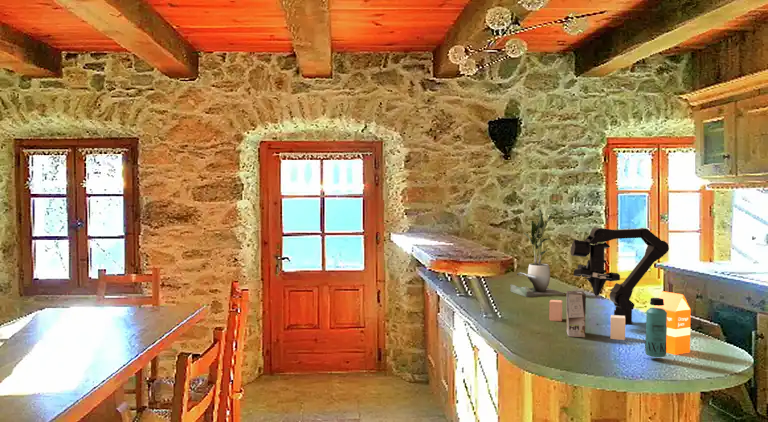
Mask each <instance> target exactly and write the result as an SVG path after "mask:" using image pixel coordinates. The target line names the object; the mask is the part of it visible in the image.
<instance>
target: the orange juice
mask: <svg viewBox="0 0 768 422" xmlns="http://www.w3.org/2000/svg"><path fill="white" fill-rule="evenodd" d="M658 298H662V299H663V300H664V305H663V306H656V305H654V307H653V308H662V309H664V310H665V311H666V312H667V338H666V348H667V350H666V352H667V353H666V354H671V355H674V356H675V355H682V354H686V353H687V354H688V353H690V352H691V311H692V309H691V307H690V305H689V303H688V302H687V301H688V300H687V299H686V297H685V295H684V294H682V293H676V292H670V291H665V290H661V292H660V295H659V297H658Z"/></svg>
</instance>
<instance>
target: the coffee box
mask: <svg viewBox="0 0 768 422" xmlns="http://www.w3.org/2000/svg"><path fill="white" fill-rule="evenodd" d="M586 295H587V294H586V293H585V291H584V290H567V291H566V327H565V328H566V329H565V330H566V333H567V337H570V338H571V337H574V338H575V337H576V338H586V311H587V309H586V308H587V307H586V304H587V303H586V302H587V301H586V299H587V298H586Z"/></svg>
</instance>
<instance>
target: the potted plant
mask: <svg viewBox="0 0 768 422" xmlns="http://www.w3.org/2000/svg"><path fill="white" fill-rule="evenodd" d="M537 215H538V222H537V223H536V222H535V221H533V220H531V222H530V234H531V237H530V236H529V233H526V232H524V231H523V234H524V235H525V236H526V237H527V238H528V239H529V241H530V243H531V245H532V249H533V258H534V263H529V264H528V268H527V273H526V272H525V273H524V272H521V271H520V272H517V274H516V275H517V276H522V277H523V276H525V277H527V279H528V280H529V281H530V283H532V286H533V287H530V288H529V287H528V286H526V285H525V286H518V285H515V284H510V289H509V290H510V292H511V293H514V294H517V295H520V296H521V297H525V298H537V297H539V298H540V297H558V296H562V297H563V296H565V292H562V291H559V290H555V289H552V288H548V287H549V284H550V279H551V269H550V264H548V263H542V259H543V255H544V254H545V253H546V252H547V251H548V248H546V249H545V250H543V251H542V247H543V243H544V242H545V241H549V240H551V238H550V237H545V238H544V234H545V230H546V226H547V224H548V223H549V222H550V221H551V220H552V218H553V215H549V216H548V218H547V219H546V222H545V221H544V217H543V214H542V210H541V209H540V208H538V209H537Z"/></svg>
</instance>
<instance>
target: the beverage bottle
mask: <svg viewBox="0 0 768 422" xmlns="http://www.w3.org/2000/svg"><path fill="white" fill-rule="evenodd" d="M649 304H650V305H651V306H655V305H656V306H663V305H664V300H663V299H662V298H659V297H651V298H650V301H649ZM645 314H646V321H645V322H646V325H645V340H644V344H645V345H644V349H645V350H644V351H645V352H644V353H645V355H646V356H649V357H653V358H664V357H667V354H668V353H667V352H666V350H667V348H666V338H667V312H666V311H665V310H664V309H662V308H654V307H650V308H648V309H646V313H645Z"/></svg>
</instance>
